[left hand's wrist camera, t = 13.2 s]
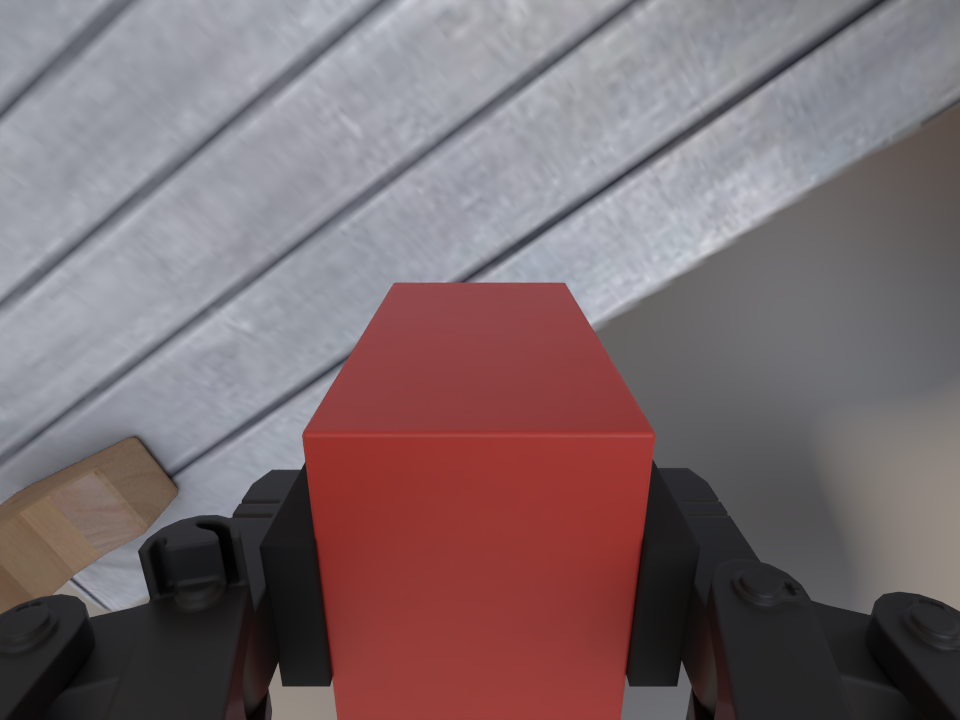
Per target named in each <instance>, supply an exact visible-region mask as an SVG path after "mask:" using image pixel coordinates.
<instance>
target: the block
mask: <svg viewBox="0 0 960 720" xmlns="http://www.w3.org/2000/svg"><path fill="white" fill-rule="evenodd" d="M302 438H303V446H304V454H305V462H306V470H307V478H308V486H309V494H310V502H311V510H312V519H313V527H314V535H315V538H316V545H317V554H318V562H319V570H320V578H321V586H322V594H323V602H324V610H325V618H326V626H327V634H328V642H329V650H330V658H331V667H332V675H333V677H332V679H333V687H334V695H335V703H336V712H337V720H621V712H622V704H623V696H624V688H625V679H626V671H627V663H628V655H629V647H630V639H631V630H632V622H633V614H634V606H635V598H636V590H637V582H638V573H639V565H640V557H641V549H642V541H643V533H644V525H645V517H646V509H647V500H648V492H649V484H650V476H651V468H652V460H653V452H654V443H655V433H654V431H653V429H652V427H651V426H650V424H649V422H648V421H647V419H646V417H645V416H644V414H643V412H642V411H641V409H640V407H639V406H638V404H637V402H636V401H635V399H634V397H633V396H632V394H631V392H630V391H629V389H628V387H627V386H626V384H625V382H624V381H623V379H622V377H621V376H620V374H619V372H618V371H617V369H616V367H615V366H614V364H613V362H612V361H611V359H610V357H609V356H608V354H607V352H606V351H605V349H604V347H603V346H602V344H601V342H600V341H599V339H598V337H597V336H596V334H595V332H594V331H593V329H592V327H591V326H590V324H589V322H588V321H587V319H586V317H585V316H584V314H583V312H582V311H581V309H580V307H579V306H578V304H577V302H576V301H575V299H574V297H573V296H572V294H571V292H570V291H569V289H568V287H567V286H566V284H565V283H394V284H393V285H392V287H391V289H390V290H389V292H388V294H387V295H386V297H385V299H384V300H383V302H382V304H381V305H380V307H379V308H378V310H377V312H376V313H375V315H374V317H373V318H372V320H371V322H370V323H369V325H368V327H367V328H366V330H365V331H364V333H363V335H362V336H361V338H360V340H359V341H358V343H357V345H356V346H355V348H354V349H353V351H352V353H351V354H350V356H349V358H348V359H347V361H346V363H345V364H344V366H343V368H342V369H341V371H340V372H339V374H338V376H337V377H336V379H335V381H334V382H333V384H332V386H331V387H330V389H329V391H328V392H327V394H326V395H325V397H324V399H323V400H322V402H321V404H320V405H319V407H318V409H317V410H316V412H315V414H314V415H313V417H312V418H311V420H310V422H309V423H308V425H307V427H306V428H305V430H304V432H303V434H302Z"/></svg>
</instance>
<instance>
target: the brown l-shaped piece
mask: <svg viewBox="0 0 960 720" xmlns="http://www.w3.org/2000/svg"><path fill="white" fill-rule="evenodd" d="M177 494H178V490H177V487H176V486H175V485H174V484H173V482H172V481H171V480H170V479H169V477H168V476H167V475H166V474H165V472H164V471H163V470H162V469H161V467H160V466H159V465H158V464H157V462H156V461H155V460H154V459H153V457H152V456H151V455H150V454H149V452H148V451H147V450H146V449H145V447H144V446H143V445H142V444H141V442H140V441H139V440H138V439H136V438H135V437H134V438H128V439H125V440H123V441H121V442H119V443H117V444H115V445H113V446H111V447H109V448H107V449H105V450H103V451H101V452H99V453H96V454H94V455H92V456H90V457H88V458H86V459H84V460H82V461H80V462H78V463H76V464H74V465H72V466H70V467H68V468H66V469H64V470H62V471H60V472H57V473H55V474H53V475H51V476H49V477H47V478H45V479H43V480H41V481H39V482H37V483H35V484H33V485H31V486H29V487H27V488H25V489H23V490H21V491H19V492H17V493H16V494H14V495H13V496H12V497H10V498H9V499H8V500H6V501H5V502H4V503H3V504H1V505H0V614H2V613H4V612H6V611H7V610H9V609H11V608H13V607H15V606H17V605H19V604H22V603H25V602H27V601H31V600H33V599H36V598H39V597H44V596H51V595H52V594H54V593H55V592H56V591H57V590H58V589H59V588H60V587H62V586H63V585H64V584H65V583H66V582H67V581H68V580H70V579H71V578H72V577H73V576H74V575H75V574H77V573H78V572H79V571H81V570H82V569H84V568H85V567H87V566H88V565H90V564H91V563H93V562H94V561H96V560H97V559H99V558H100V557H102V556H103V555H105V554H106V553H108V552H110V551H112V550H114V549H116V548H118V547H120V546H121V545H123V544H125V543H127V542H129V541H131V540H133V539H135V538H137V537H139V536H141V535H142V534H144V533H145V532H146V531H147V530H148V529H149V528H150V526H151V525H152V524H153V523H154V522H155V521H156V519H157V518H158V517H159V516H160V515H161V513H162V512H163V511H164V510H165V509H166V508H167V506H168V505H169V504H170V503H171V502H172V501H173V499H174V498H175V497H176V496H177Z"/></svg>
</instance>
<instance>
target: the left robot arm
mask: <svg viewBox="0 0 960 720" xmlns="http://www.w3.org/2000/svg"><path fill="white" fill-rule="evenodd" d="M138 553H139V557H140V561H141V565H142V569H143V572H144V576H145V580H146V584H147V588H148V592H149V596H150V601H149V603H147V604H144V605H140V606H137V607H134V608H129V609H125V610H121V611H116V612H112V613H108V614H104V615H99V616H95V617H90V618H89V615H88V611H87V608H86V605H85V604H84V603H83V602H82V601H81V600H80V599H79V598H78V597H75V596H69V595H63V594H59V595H52V596H44V597H39V598H36V599H33V600H31V601H27V602H25V603H22V604H19V605H17V606H15V607H13V608H11V609H9V610H7V611H6V612H4V613H2V614H0V720H271V716H272V707H271V700H270V694H269V689H268V687H269V685H270V682H271V679H272V677H273V674H274V672H275V669H276V667H277V664H278V662H279V668H280V674H281V680H282V686H330V684H331V681H332V677H333V675H332V667H331V658H330V650H329V642H328V634H327V626H326V618H325V610H324V602H323V594H322V586H321V578H320V570H319V562H318V554H317V545H316V538H315V535H314V527H313V519H312V510H311V502H310V494H309V486H308V478H307V470H306V462H305V464H304V465H303V467H302V469H301V470H271V471H270V472H269V473H267V474H266V475H264V476H263V477H262V478H260V479H259V480H257V481H256V482H255V483H253V484H252V486H251V487H250V489H249V490H248V492H247V493H246V495H245V496H244V498H243V499H242V504H239V505H238V507H237V508H236V510H235V511H234V513H233V517H232V518H226V517H223V516H219V515H203V516H196V517H192V518H187V519H183V520H180V521H178V522H175V523H173V524H171V525H168V526H166V527H164V528H162V529H161V530H159V531H158V532H156V533H155V534H154V535H152V536H151V537H149V538H148V539H147V540H146V541H145V543H144V544H143V545H142V547H141V548H140V549H139V550H138ZM681 660H682V662H683V665H684V667H685V670H686V672H687V675H688V677H689V680H690V683H691V685H692V689H691V694H690V700H689V705H688V711H687V716H686V720H960V611H958V610H956V609H954V608H952V607H950V606H948V605H946V604H945V603H943V602H940V601H937V600H935V599H931V598H929V597H925V596H922V595H919V594H912V593H905V592H895V593H888V594H883V595H882V596H881V597H880V598H879V599H878V600H876V601H875V603H874V607H873V610H872V613H871V615H867V614H863V613H858V612H854V611H850V610H845V609H841V608H836V607H832V606H828V605H824V604H821V603H817V602H814V601H811V600H810V597H809V596H808V594H807V593H806V591H805V590H804V588H803V587H802V585H801V584H800V583H798V582H797V581H796V580H795V579H793V578H792V577H791V576H790V575H789V574H787V573H786V572H784V571H782V570H780V569H778V568H776V567H774V566H772V565H769V564H766V563H762V562H760V561H759V559H758V558H757V556H756V555H755V553H754V552H753V550H752V549H751V547H750V546H749V544H748V543H747V541H746V540H745V538H744V537H743V535H742V534H741V532H740V531H739V529H738V528H737V526H736V525H735V523H734V522H733V520H732V519H731V517H730V516H728V515H727V511H726V510H725V508H724V507H723V505H722V504H721V502H718V498H717V496H716V495H715V493H714V492H713V490H712V489H711V487H710V486H709V484H708V483H707V482H706V481H705V480H704V479H702V478H701V477H699V476H698V475H697V474H695V473H694V472H692V471H691V470H690V469H688V468H657V466H656V464H655V463H654V461H653V460H652V468H651V476H650V484H649V492H648V500H647V509H646V517H645V525H644V533H643V541H642V549H641V557H640V565H639V573H638V582H637V590H636V598H635V606H634V614H633V622H632V630H631V639H630V647H629V655H628V663H627V671H626V675H627V678H628V682H629V686H677V684H678V678H679V672H680V666H681Z"/></svg>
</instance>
